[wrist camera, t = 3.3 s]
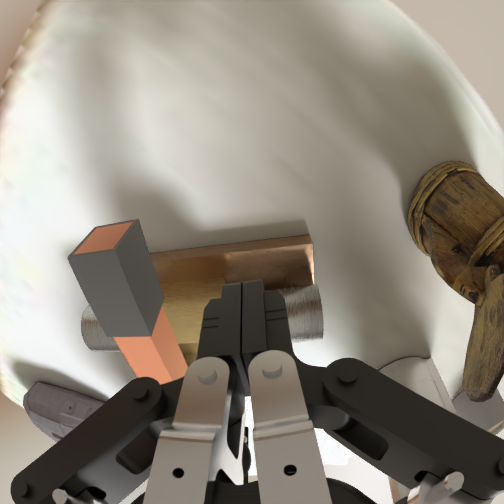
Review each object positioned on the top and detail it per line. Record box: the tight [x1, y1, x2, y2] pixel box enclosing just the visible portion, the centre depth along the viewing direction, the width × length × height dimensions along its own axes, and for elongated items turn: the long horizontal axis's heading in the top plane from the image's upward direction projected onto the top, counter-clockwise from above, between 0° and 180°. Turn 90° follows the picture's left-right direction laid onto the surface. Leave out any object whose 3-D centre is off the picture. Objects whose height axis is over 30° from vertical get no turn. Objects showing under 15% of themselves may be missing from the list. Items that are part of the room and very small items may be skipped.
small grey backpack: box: [23, 382, 104, 442], centre depth 37 cm, size 15×8×20 cm
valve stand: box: [81, 235, 323, 367], centre depth 23 cm, size 20×10×10 cm, turn 98°
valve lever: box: [68, 219, 188, 385], centre depth 15 cm, size 14×3×3 cm, turn 7°
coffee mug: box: [452, 388, 504, 435], centre depth 37 cm, size 13×10×10 cm
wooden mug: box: [408, 161, 504, 402], centre depth 15 cm, size 9×14×18 cm, turn 91°
